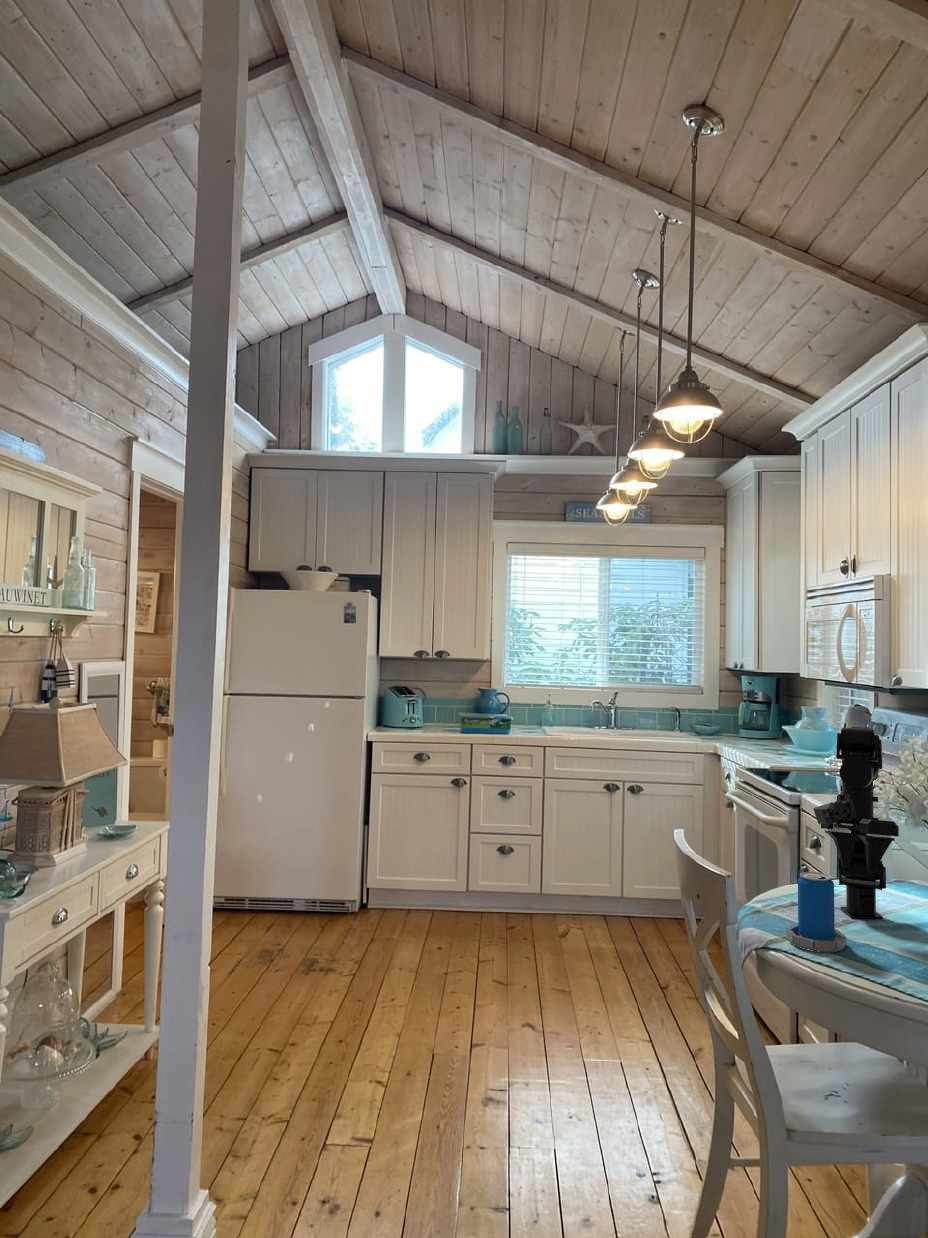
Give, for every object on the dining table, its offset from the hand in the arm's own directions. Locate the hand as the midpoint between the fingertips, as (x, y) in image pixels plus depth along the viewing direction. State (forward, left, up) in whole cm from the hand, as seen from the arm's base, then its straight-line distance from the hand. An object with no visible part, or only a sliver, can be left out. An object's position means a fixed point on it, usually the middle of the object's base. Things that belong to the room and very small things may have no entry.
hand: (858, 870), depth 167 cm
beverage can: (+6, -10, -12) cm, 17 cm away
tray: (+6, -10, -13) cm, 17 cm away
